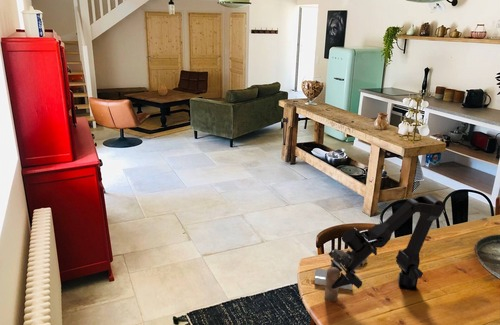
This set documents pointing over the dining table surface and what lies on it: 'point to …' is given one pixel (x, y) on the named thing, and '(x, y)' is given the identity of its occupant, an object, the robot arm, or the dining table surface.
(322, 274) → the resting pad
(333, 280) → the skittle
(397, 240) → the dining table surface
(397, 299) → the dining table surface
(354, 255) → the robot arm
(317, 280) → the silver flat bar
